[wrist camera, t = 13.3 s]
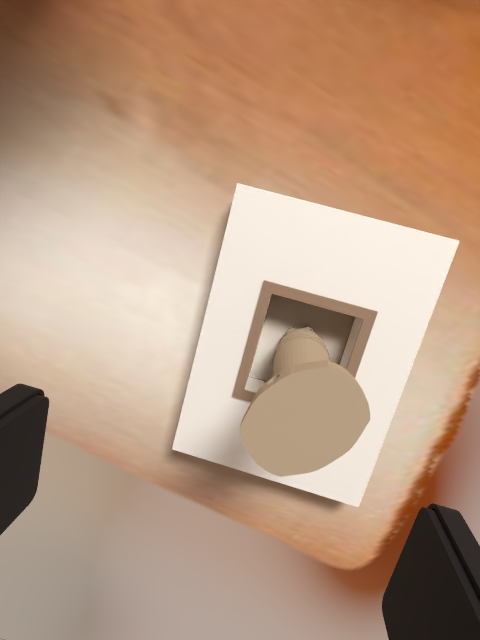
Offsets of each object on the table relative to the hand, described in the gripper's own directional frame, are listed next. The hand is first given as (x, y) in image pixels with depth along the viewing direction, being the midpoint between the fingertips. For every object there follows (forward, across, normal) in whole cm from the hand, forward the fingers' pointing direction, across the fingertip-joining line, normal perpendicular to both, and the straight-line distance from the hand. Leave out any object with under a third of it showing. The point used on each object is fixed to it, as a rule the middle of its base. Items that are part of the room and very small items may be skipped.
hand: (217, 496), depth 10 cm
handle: (+25, -3, +3) cm, 25 cm away
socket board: (+25, -3, +3) cm, 25 cm away
